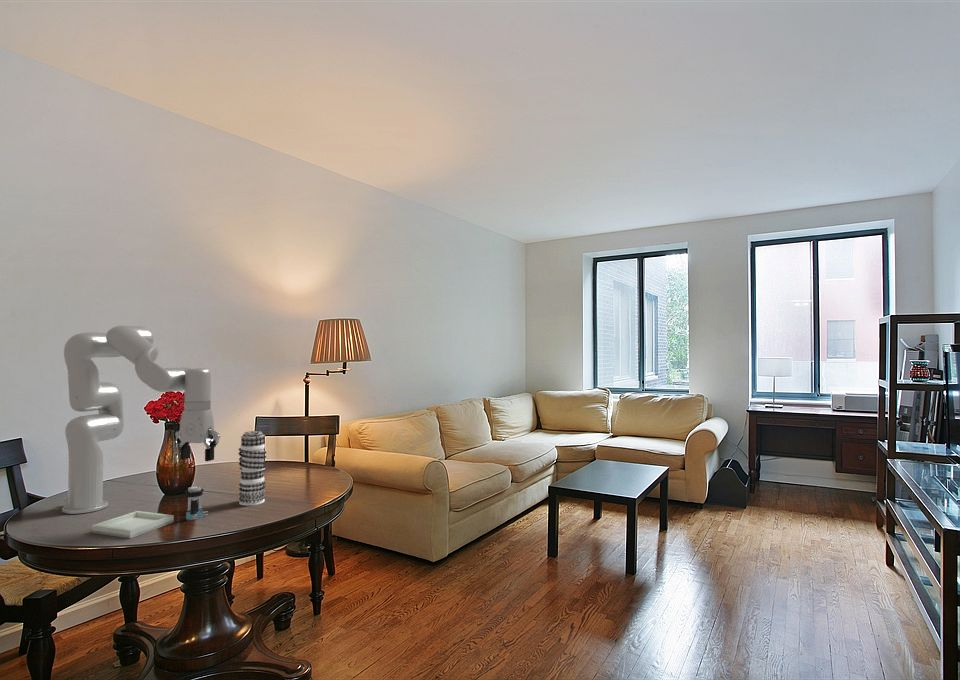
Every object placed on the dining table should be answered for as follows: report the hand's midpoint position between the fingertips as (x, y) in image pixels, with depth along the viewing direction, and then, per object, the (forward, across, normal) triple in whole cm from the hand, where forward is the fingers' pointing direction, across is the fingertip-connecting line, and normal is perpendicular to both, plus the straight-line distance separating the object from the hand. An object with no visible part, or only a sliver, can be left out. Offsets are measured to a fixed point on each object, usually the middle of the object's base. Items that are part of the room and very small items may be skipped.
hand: (197, 459), depth 175 cm
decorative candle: (+19, +4, +21) cm, 28 cm away
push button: (+19, -1, 0) cm, 19 cm away
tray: (+19, -11, -13) cm, 25 cm away
